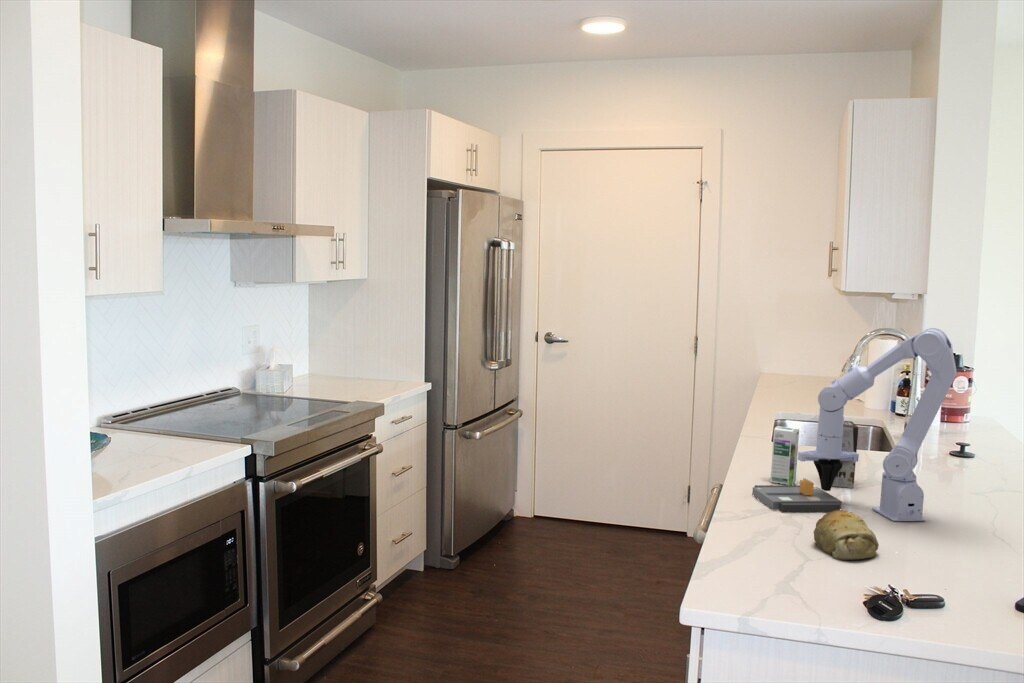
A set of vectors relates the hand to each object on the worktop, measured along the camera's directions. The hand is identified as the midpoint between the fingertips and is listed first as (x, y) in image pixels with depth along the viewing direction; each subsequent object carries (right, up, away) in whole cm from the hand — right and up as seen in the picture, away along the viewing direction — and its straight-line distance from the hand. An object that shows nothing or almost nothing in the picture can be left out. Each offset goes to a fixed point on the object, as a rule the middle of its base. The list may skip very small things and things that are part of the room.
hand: (825, 489), depth 208 cm
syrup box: (-5, -1, +18) cm, 18 cm away
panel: (-8, -3, -1) cm, 8 cm away
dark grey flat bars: (-8, -3, -1) cm, 8 cm away
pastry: (-9, -7, -33) cm, 35 cm away
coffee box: (+10, -2, +19) cm, 21 cm away
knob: (-5, -1, -1) cm, 5 cm away
